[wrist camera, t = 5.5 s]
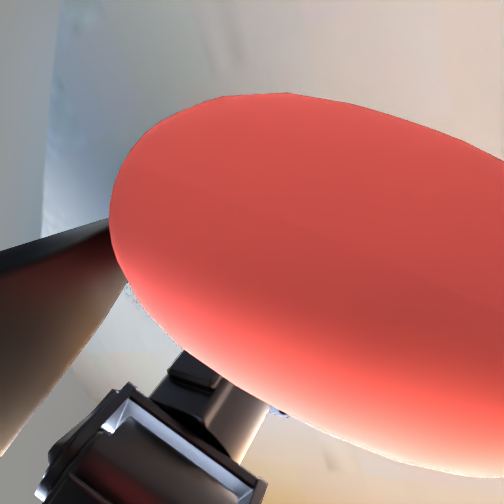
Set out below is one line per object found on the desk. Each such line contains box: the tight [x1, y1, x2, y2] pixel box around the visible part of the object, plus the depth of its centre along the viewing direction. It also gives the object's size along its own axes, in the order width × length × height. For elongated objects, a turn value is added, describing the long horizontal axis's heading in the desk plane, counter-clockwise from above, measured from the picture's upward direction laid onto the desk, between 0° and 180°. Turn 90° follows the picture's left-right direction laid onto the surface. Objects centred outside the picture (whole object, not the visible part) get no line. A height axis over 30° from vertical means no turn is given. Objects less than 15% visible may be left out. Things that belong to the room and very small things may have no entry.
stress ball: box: [109, 93, 504, 478], centre depth 8 cm, size 5×9×6 cm, turn 70°
